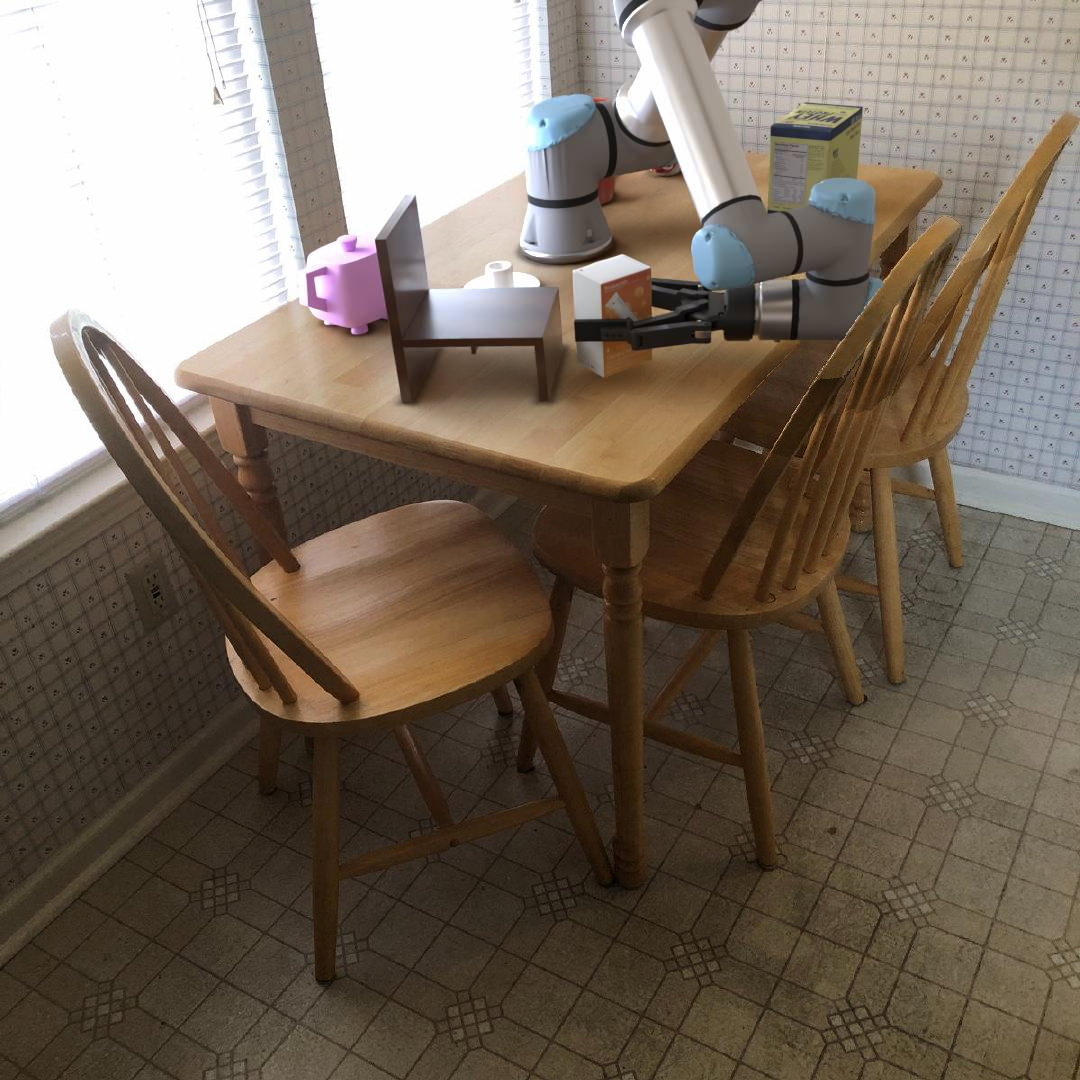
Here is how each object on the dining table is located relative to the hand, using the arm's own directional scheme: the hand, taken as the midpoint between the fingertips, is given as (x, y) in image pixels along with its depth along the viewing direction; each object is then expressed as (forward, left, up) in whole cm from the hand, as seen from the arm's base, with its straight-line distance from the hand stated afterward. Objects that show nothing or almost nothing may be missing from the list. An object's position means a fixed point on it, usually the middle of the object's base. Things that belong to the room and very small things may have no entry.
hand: (579, 313), depth 144 cm
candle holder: (-28, -16, -9) cm, 33 cm away
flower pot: (-71, -8, -9) cm, 72 cm away
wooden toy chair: (0, -13, -9) cm, 15 cm away
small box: (0, +4, -7) cm, 8 cm away
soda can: (-85, +7, -9) cm, 86 cm away
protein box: (-62, +33, -9) cm, 71 cm away
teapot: (-19, -36, -9) cm, 41 cm away
